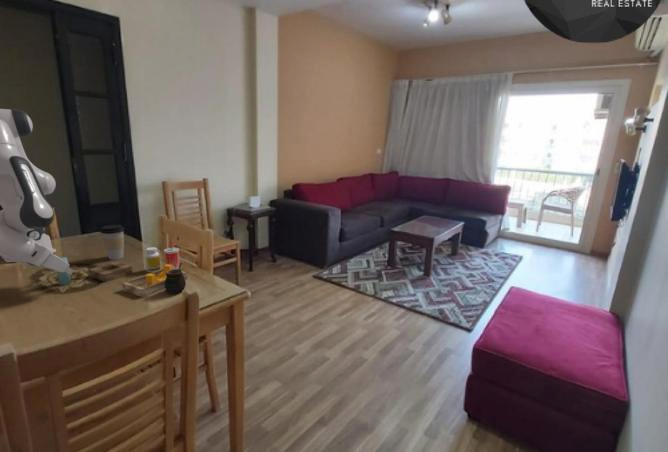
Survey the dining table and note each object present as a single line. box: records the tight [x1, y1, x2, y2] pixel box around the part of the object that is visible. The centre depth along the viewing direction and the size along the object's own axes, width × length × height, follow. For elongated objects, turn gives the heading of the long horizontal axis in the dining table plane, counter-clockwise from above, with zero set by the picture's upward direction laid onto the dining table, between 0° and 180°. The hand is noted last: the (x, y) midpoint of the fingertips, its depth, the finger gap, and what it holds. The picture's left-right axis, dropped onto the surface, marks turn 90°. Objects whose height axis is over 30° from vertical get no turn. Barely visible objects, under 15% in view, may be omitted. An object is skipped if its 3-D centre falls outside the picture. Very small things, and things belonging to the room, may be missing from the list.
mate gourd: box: [164, 262, 187, 295], centre depth 130 cm, size 7×8×10 cm
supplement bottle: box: [144, 247, 161, 273], centre depth 148 cm, size 5×5×10 cm
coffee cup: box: [100, 224, 125, 261], centre depth 161 cm, size 9×9×15 cm
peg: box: [56, 256, 72, 286], centre depth 133 cm, size 4×4×10 cm
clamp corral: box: [121, 267, 188, 298], centre depth 135 cm, size 11×19×3 cm, turn 153°
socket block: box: [88, 261, 133, 283], centre depth 143 cm, size 11×11×3 cm
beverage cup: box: [163, 238, 180, 269], centre depth 149 cm, size 6×6×14 cm
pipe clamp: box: [145, 263, 173, 287], centre depth 135 cm, size 12×4×6 cm, turn 169°
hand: (64, 269), depth 133 cm, fingers open, 8 cm apart
